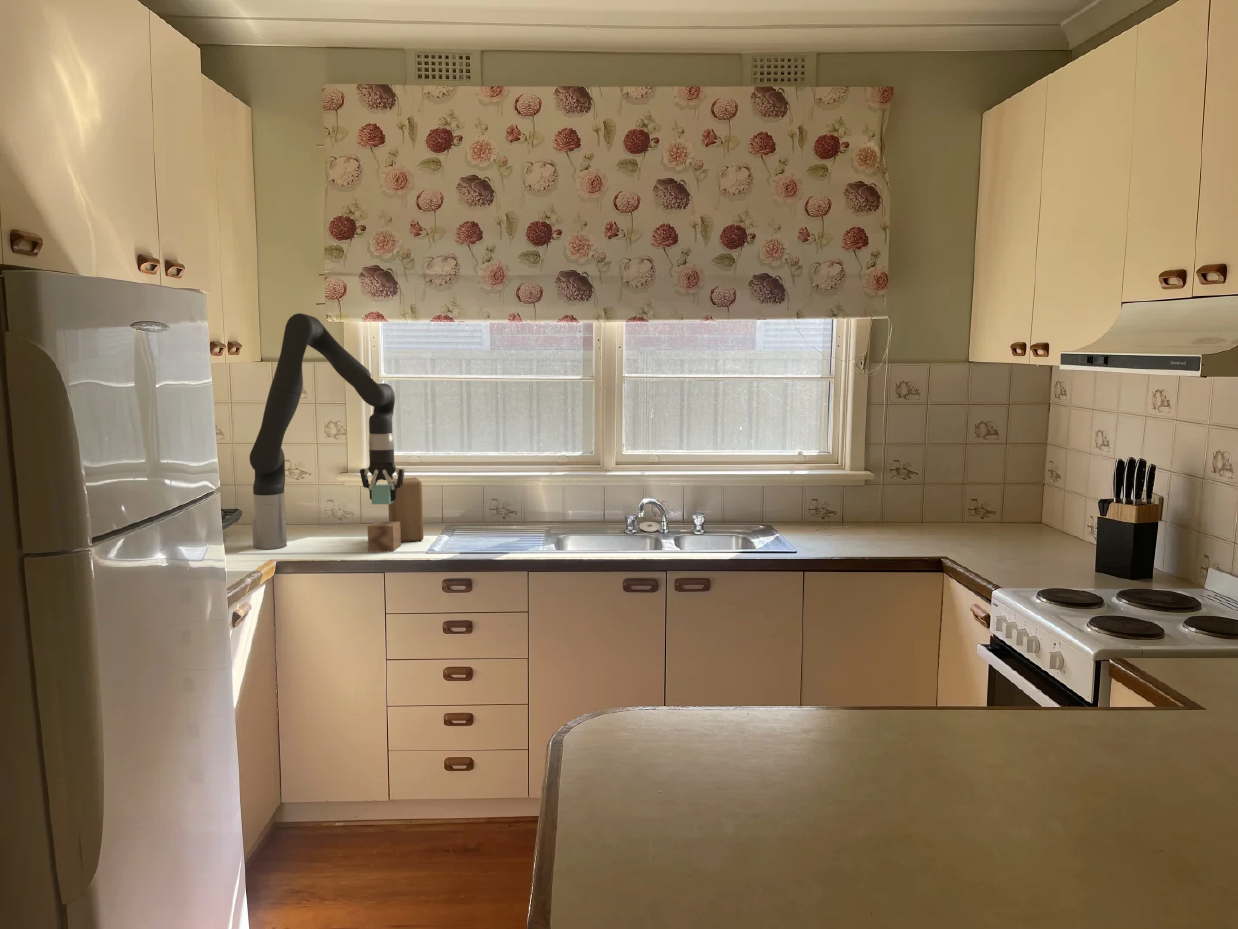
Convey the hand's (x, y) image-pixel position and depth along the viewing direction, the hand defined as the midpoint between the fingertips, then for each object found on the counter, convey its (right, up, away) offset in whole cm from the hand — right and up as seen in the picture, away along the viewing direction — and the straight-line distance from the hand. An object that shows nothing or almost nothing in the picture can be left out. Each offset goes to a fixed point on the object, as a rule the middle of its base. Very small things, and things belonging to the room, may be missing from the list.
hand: (383, 501), depth 290 cm
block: (+4, -14, +16) cm, 21 cm away
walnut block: (0, -15, +2) cm, 15 cm away
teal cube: (0, -1, 0) cm, 1 cm away
